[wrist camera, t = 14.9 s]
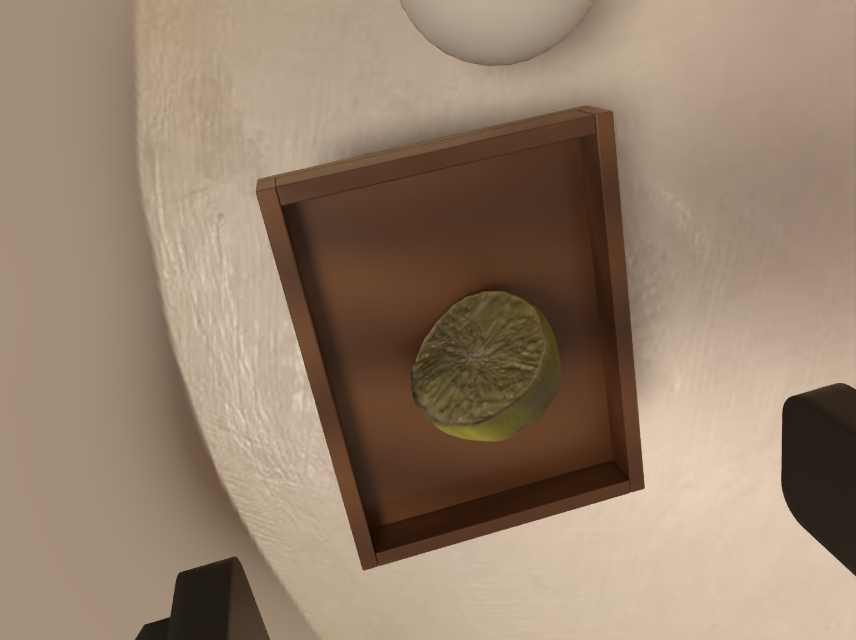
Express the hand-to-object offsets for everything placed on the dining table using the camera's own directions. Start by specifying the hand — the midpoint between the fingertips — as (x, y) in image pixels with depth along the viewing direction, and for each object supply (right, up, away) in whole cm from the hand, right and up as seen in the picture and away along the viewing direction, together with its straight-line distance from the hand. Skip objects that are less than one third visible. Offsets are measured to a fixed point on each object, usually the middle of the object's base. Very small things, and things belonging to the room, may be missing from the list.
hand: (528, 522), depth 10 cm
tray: (-1, +4, +22) cm, 22 cm away
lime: (0, +2, +16) cm, 16 cm away
